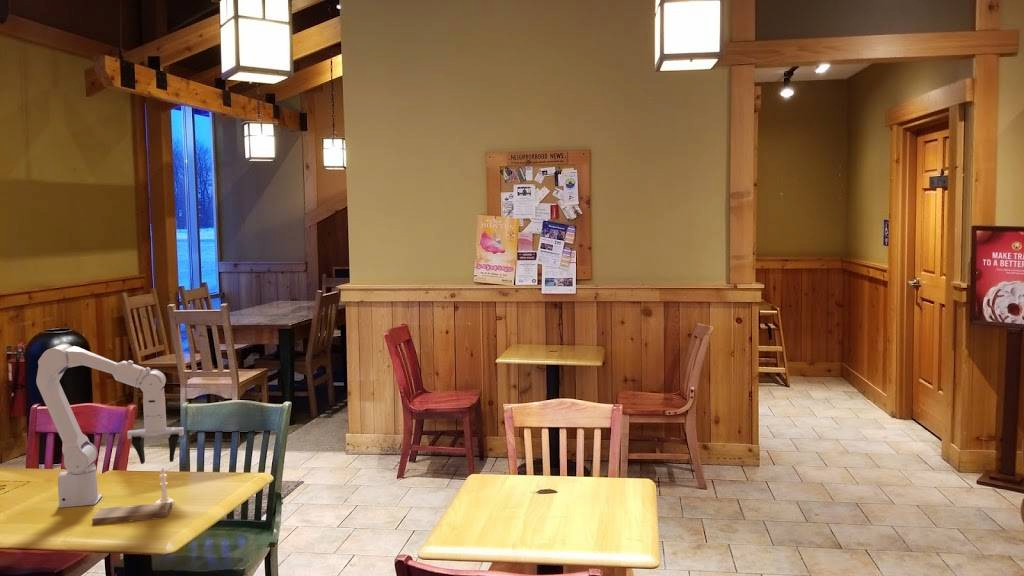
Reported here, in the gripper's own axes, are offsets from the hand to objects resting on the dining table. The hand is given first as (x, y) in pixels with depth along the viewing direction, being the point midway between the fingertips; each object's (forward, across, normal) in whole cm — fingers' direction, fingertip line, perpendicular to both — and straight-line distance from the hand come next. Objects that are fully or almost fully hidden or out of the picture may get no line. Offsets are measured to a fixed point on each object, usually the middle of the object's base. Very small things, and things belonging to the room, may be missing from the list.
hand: (157, 461), depth 243 cm
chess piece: (+10, +3, -8) cm, 13 cm away
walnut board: (+10, -4, -16) cm, 19 cm away
